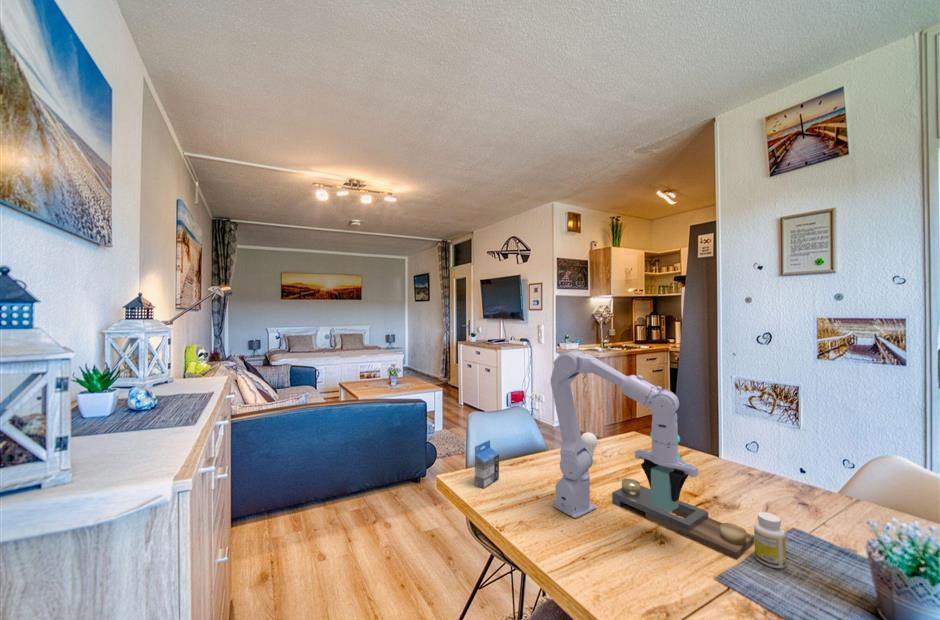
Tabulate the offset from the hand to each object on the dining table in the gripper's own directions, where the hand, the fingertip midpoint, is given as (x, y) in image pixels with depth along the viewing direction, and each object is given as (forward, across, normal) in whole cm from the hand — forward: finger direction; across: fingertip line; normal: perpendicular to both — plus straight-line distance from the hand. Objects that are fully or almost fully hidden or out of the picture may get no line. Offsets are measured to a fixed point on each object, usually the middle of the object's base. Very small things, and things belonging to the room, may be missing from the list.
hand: (664, 496), depth 92 cm
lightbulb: (+10, +40, -24) cm, 47 cm away
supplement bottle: (+10, -18, -10) cm, 23 cm away
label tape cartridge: (+10, +49, +18) cm, 53 cm away
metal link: (+10, +7, -10) cm, 15 cm away
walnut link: (+10, -3, -10) cm, 14 cm away
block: (+2, 0, 0) cm, 2 cm away
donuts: (+10, +25, -50) cm, 56 cm away
